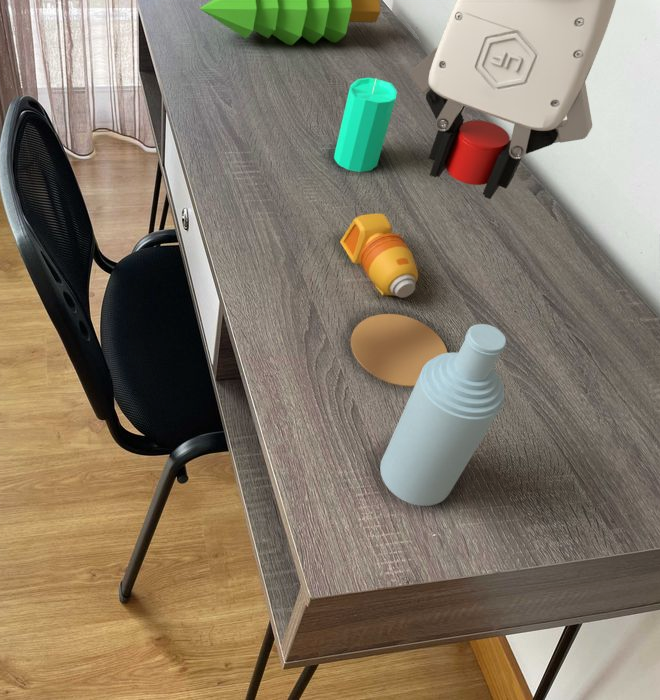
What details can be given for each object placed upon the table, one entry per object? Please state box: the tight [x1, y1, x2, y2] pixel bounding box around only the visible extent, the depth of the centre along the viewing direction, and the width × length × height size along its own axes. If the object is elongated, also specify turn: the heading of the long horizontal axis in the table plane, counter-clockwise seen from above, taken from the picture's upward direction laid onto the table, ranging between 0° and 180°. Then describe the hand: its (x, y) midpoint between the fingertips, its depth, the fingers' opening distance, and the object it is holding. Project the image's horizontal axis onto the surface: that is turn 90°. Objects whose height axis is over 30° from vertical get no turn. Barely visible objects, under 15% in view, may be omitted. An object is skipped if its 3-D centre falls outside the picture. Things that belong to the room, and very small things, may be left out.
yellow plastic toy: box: [339, 212, 419, 298], centre depth 82 cm, size 5×6×12 cm
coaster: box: [350, 313, 449, 388], centre depth 76 cm, size 10×10×1 cm
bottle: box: [379, 323, 507, 507], centre depth 59 cm, size 6×6×18 cm
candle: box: [333, 77, 398, 173], centre depth 95 cm, size 6×6×12 cm
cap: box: [445, 119, 511, 186], centre depth 59 cm, size 4×4×4 cm
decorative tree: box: [198, 0, 381, 46], centre depth 118 cm, size 11×12×30 cm
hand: (466, 177), depth 60 cm, fingers closed on cap, 3 cm apart
